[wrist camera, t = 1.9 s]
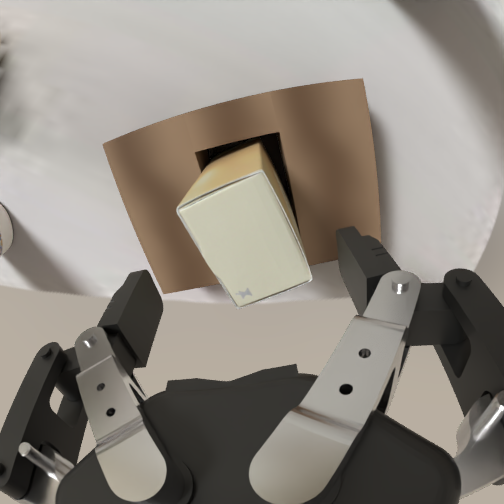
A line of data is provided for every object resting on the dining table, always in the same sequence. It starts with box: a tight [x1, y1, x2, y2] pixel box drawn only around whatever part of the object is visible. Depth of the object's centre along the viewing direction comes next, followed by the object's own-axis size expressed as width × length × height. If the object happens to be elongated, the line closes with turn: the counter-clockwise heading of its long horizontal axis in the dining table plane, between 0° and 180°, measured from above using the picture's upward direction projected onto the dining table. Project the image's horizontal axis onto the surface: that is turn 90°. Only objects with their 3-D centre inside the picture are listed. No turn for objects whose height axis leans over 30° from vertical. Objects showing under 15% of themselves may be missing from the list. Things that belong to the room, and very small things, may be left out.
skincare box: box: [176, 137, 313, 309], centre depth 19 cm, size 6×4×12 cm
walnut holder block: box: [103, 79, 381, 294], centre depth 22 cm, size 18×13×4 cm
